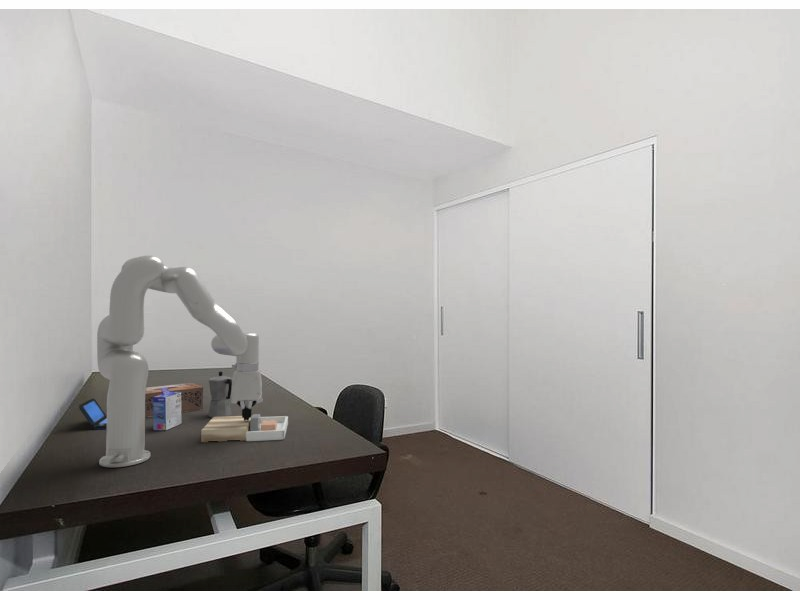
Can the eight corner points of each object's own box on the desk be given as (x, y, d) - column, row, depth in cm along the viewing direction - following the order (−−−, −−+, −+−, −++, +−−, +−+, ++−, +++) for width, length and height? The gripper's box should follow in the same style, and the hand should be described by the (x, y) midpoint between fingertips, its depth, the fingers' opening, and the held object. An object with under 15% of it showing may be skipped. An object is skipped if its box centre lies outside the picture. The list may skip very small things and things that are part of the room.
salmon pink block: (260, 425, 157) (260, 432, 157) (275, 424, 158) (275, 431, 158) (262, 420, 163) (262, 427, 163) (276, 420, 163) (276, 427, 163)
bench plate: (245, 440, 150) (245, 428, 150) (201, 442, 147) (201, 430, 147) (253, 426, 168) (253, 415, 168) (213, 427, 165) (213, 416, 165)
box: (284, 439, 151) (284, 430, 151) (246, 441, 149) (246, 432, 149) (287, 423, 171) (287, 416, 171) (254, 425, 169) (254, 417, 169)
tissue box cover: (191, 404, 205) (191, 382, 205) (202, 410, 194) (203, 387, 195) (126, 413, 187) (127, 389, 188) (135, 419, 177) (136, 394, 177)
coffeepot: (200, 414, 185) (201, 371, 185) (222, 410, 192) (222, 368, 192) (220, 421, 175) (220, 374, 175) (242, 416, 182) (242, 372, 183)
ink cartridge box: (168, 423, 171) (169, 385, 171) (182, 423, 170) (182, 385, 171) (151, 430, 161) (152, 390, 161) (166, 430, 161) (166, 390, 161)
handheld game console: (119, 429, 164) (120, 403, 164) (76, 431, 160) (77, 405, 160) (131, 418, 179) (131, 395, 179) (92, 421, 175) (93, 397, 175)
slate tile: (250, 432, 156) (257, 432, 156) (250, 418, 156) (258, 418, 156) (252, 428, 162) (260, 427, 162) (253, 414, 162) (260, 414, 162)
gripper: (223, 369, 154) (222, 423, 154) (268, 368, 157) (267, 421, 156) (227, 366, 161) (226, 417, 161) (270, 365, 164) (269, 416, 164)
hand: (246, 419), depth 159 cm, fingers closed
